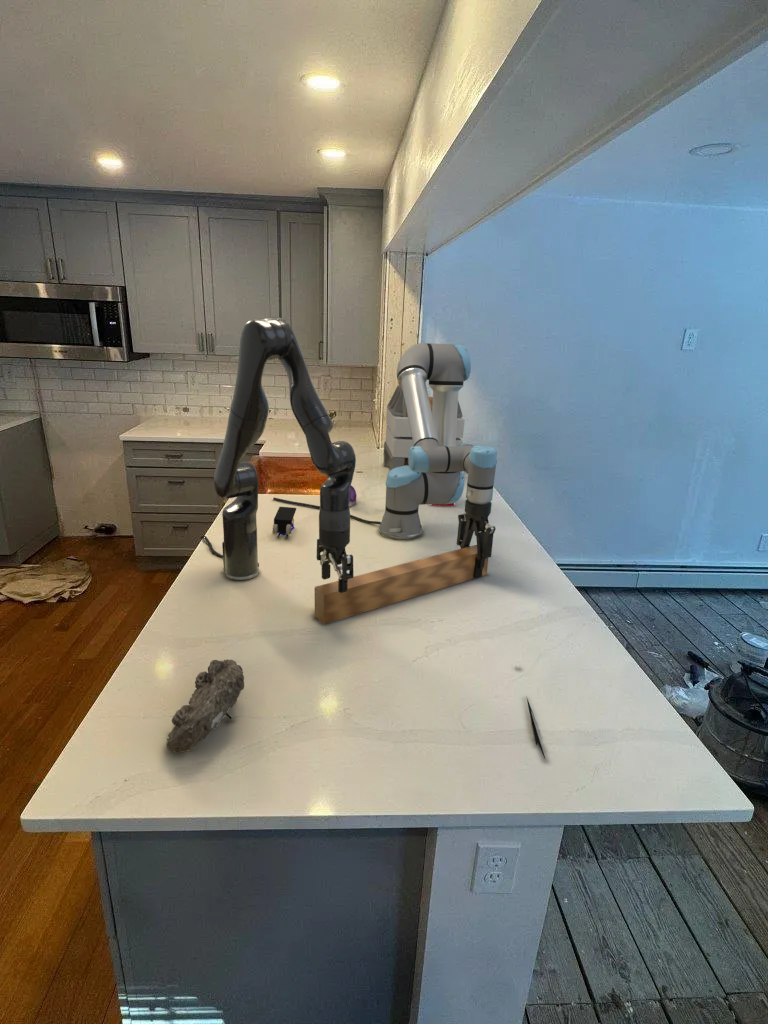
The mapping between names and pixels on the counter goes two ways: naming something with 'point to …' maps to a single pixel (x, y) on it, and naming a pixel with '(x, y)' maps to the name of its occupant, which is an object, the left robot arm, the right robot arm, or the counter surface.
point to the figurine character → (284, 521)
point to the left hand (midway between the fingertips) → (334, 585)
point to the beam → (395, 584)
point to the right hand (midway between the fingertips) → (471, 573)
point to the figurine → (352, 496)
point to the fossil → (206, 705)
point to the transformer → (405, 431)
